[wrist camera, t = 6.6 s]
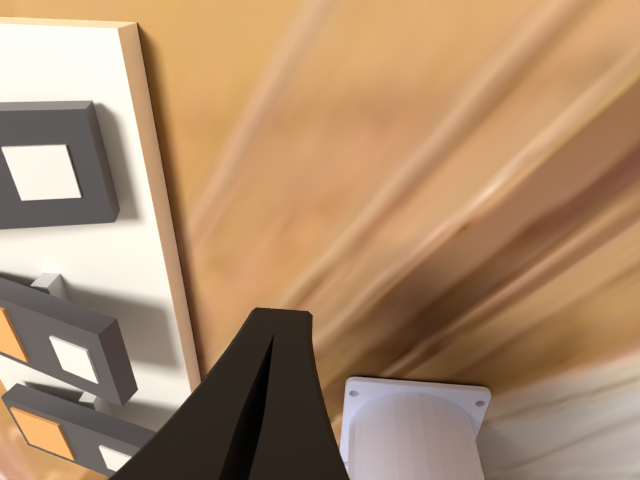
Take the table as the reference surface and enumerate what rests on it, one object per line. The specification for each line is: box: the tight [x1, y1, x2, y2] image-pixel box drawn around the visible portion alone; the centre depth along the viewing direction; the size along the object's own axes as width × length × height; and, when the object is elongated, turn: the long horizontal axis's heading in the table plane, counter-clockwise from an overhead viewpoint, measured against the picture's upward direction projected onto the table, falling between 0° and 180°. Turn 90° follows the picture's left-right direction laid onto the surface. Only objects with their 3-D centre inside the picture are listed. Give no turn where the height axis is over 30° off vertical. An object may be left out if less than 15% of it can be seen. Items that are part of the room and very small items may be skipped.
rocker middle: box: [0, 277, 138, 407], centre depth 20 cm, size 4×9×1 cm, turn 89°
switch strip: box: [0, 17, 201, 433], centre depth 22 cm, size 25×11×2 cm, turn 179°
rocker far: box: [1, 383, 156, 477], centre depth 24 cm, size 4×9×1 cm, turn 89°
